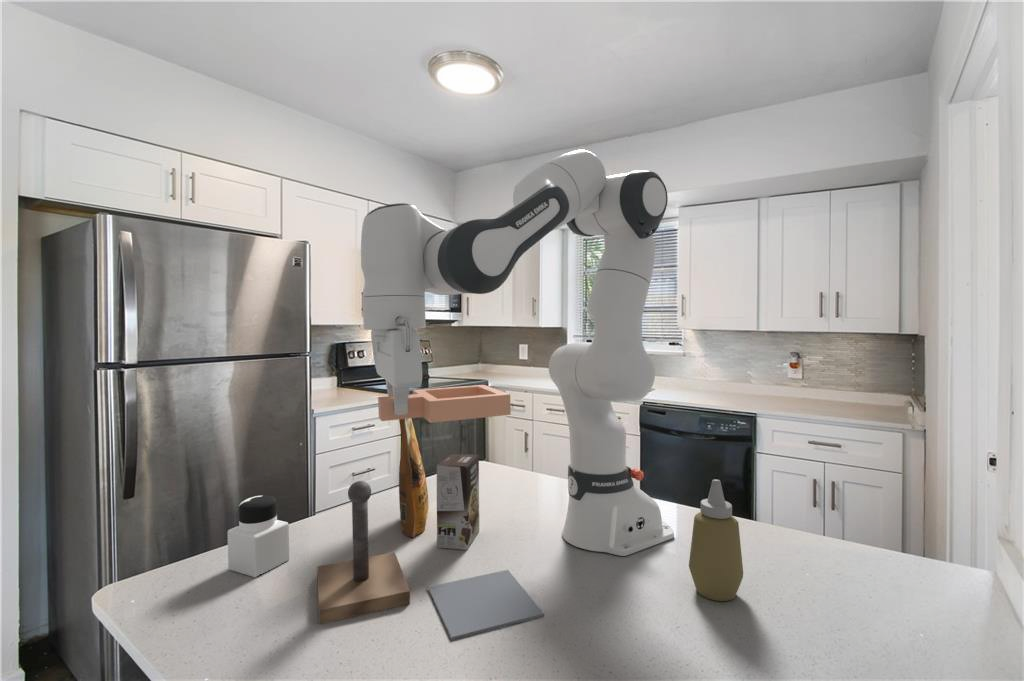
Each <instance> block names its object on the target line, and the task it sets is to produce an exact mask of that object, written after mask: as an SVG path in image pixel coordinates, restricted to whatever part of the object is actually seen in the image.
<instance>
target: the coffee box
mask: <svg viewBox="0 0 1024 681" xmlns="http://www.w3.org/2000/svg"><path fill="white" fill-rule="evenodd" d="M479 456H480V455H479V454H472V453H471V454H469V453H468V454H467V453H466V454H465V453H464V454H463V453H459V454H456V453H454V454H453V453H450V454H448V456H446V457H445V458H444V459H443V460H441V461H440V462H439V463H437V465H436V547H437V548H440V549H441V548H444V549H453V550H463V551H467V550H468V549H469V548H470V546H471V545H472V543H473V542H474V540H475V539H476V537H477V535H478V533H479V532H480V472H479V471H480V465H479V464H480V458H479Z"/></svg>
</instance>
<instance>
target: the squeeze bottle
mask: <svg viewBox="0 0 1024 681" xmlns="http://www.w3.org/2000/svg"><path fill="white" fill-rule="evenodd" d="M707 497H708V498H703V499H702V500H701V501H700V503H699V504H700V509H699V510H700V512H697V513H696V514H695V516H694V517H693V526H692V527H693V528H692V532H691V533H692V534H691V543H690V551H689V560H688V567H689V568H688V569H689V572H690V574H691V578H692V581H693V583H694V587H695V590H696V591H697V593H699V594H700V595H701V596H702V597H705V598H707V599H709V600H712V601H716V602H728V601H732V600H733V599H735V597H737V593H738V591H739V588H740V586H741V583H742V581H743V578H744V567H743V565H744V564H743V556H742V555H743V554H742V547H741V545H742V544H741V537H740V536H741V534H740V525H739V521H738V520H737V519H736V518H735V516H733V505H732V503H730V502H729V501H726V500H725V497H724V491H723V486H722V482H721V480H720V479H712V481H711V484H710V489H709V492H708V496H707Z"/></svg>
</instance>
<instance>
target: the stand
mask: <svg viewBox="0 0 1024 681" xmlns="http://www.w3.org/2000/svg"><path fill="white" fill-rule="evenodd" d="M371 494H372V488H371V485H370V484H369V483H368V482H367V481H363V480H358V481H357V480H356V481H355V482H353V483H352V484H350V486H349V488H348V491H347V497H348V499H349V502H351V510H352V511H351V516H352V517H351V519H352V521H351V522H352V523H351V524H352V526H351V528H352V559H351V560H343V561H338V562H334V563H329V564H328V563H327V564H322V565H318V566H316V572H317V573H316V574H317V575H316V577H317V579H316V580H317V596H318V597H317V599H318V602H319V603H318V621H319V625H320V624H321V625H322V624H326V623H329V622H330V623H331V622H333V621H340V620H343V619H348V618H352V617H357V616H361V615H366V614H369V613H374V612H378V611H379V610H380V611H383V610H387V609H388V608H389V609H392V608H397V606H398V607H401V606H400V605H402V606H405V605H404V604H407V605H410V604H411V592H410V588H409V585H408V583H407V580H406V578H405V575H404V572H403V570H402V567H401V564H400V563H399V559H398V557H397V554H396V552H394V551H393V552H388V553H383V554H378V555H377V554H376V555H372V556H369V513H368V512H369V511H368V510H369V507H368V505H369V504H368V501H369V499H370V498H371V496H372V495H371ZM389 609H388V610H389Z"/></svg>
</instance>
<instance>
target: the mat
mask: <svg viewBox="0 0 1024 681" xmlns="http://www.w3.org/2000/svg"><path fill="white" fill-rule="evenodd" d="M428 589H429V590H428ZM427 590H428V592H429V595H430V594H431V595H430V597H431V596H432V597H431V599H432V598H433V599H432V601H433V603H434V605H435V608H436V609H437V612H438V615H439V616H440V619H441V621H442V623H443V625H444V627H445V630H446V632H447V634H448V636H449V638H450V640H451V641H453V640H457V639H460V638H464V637H465V638H466V637H469V636H473V635H476V634H480V633H484V632H488V631H492V630H497V629H498V628H499V629H500V628H503V627H507V626H510V625H516V624H518V623H522V622H527V621H532V620H535V619H538V618H542V617H544V616H545V615H544V612H543V611H542V609H541V608H540V607H539V606H538V604H536V602H535V601H534V600H533V598H532V597H531V596H530V595H529V593H527V591H526V590H525V589H524V587H523V586H522V585H521V583H519V581H518V580H517V579H516V578H515V576H514V575H513V574H512V573H511V571H510V570H509V569H505V570H499V571H496V572H491V573H487V574H482V575H481V574H480V575H476V576H472V577H468V578H463V579H460V580H459V579H458V580H453V581H450V582H444V583H440V584H435V585H430V586H427Z"/></svg>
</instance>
